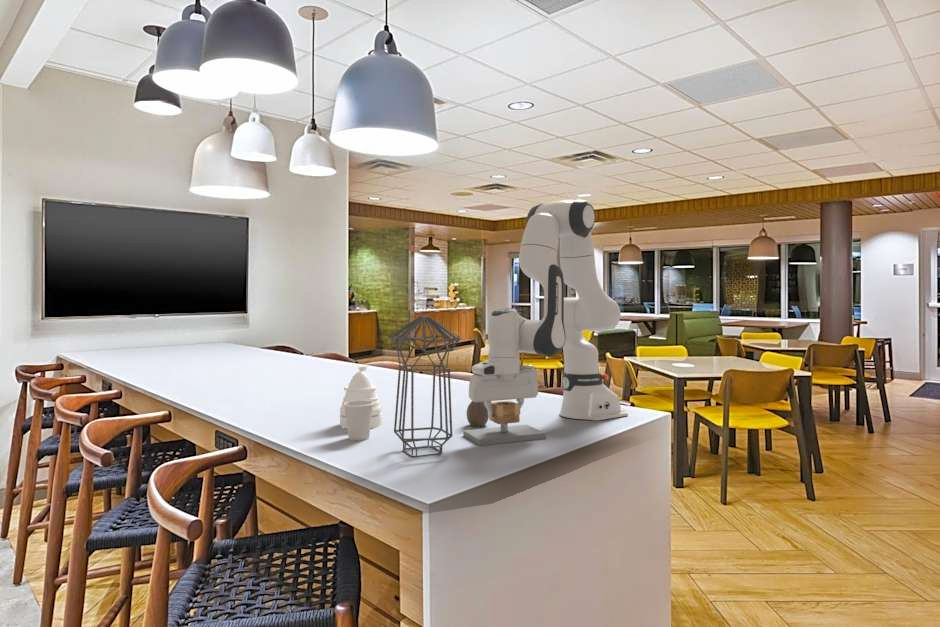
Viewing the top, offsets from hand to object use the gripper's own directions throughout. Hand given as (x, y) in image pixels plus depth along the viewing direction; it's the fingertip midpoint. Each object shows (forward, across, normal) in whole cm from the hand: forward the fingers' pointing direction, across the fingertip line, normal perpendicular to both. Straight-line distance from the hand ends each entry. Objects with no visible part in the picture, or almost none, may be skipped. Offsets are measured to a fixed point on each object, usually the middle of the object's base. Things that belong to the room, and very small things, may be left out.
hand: (504, 415), depth 167 cm
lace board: (+6, 0, 0) cm, 6 cm away
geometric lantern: (+6, +25, +6) cm, 27 cm away
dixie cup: (+6, +38, -15) cm, 41 cm away
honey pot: (+6, +34, -32) cm, 47 cm away
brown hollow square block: (+2, 0, 0) cm, 2 cm away
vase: (+6, +1, -17) cm, 18 cm away
